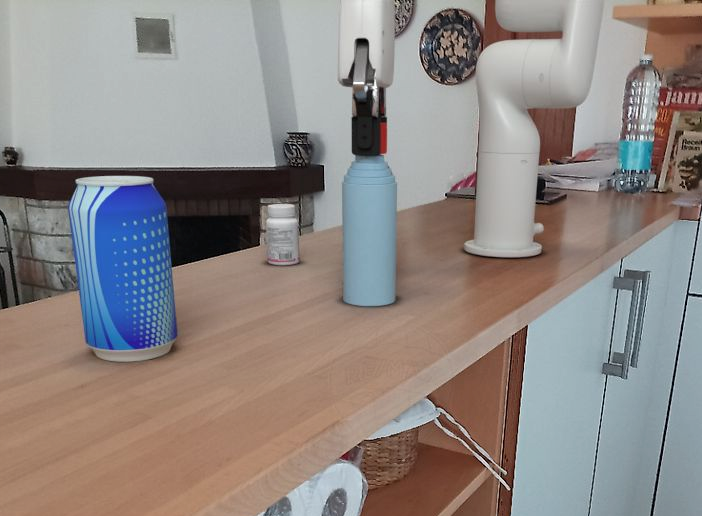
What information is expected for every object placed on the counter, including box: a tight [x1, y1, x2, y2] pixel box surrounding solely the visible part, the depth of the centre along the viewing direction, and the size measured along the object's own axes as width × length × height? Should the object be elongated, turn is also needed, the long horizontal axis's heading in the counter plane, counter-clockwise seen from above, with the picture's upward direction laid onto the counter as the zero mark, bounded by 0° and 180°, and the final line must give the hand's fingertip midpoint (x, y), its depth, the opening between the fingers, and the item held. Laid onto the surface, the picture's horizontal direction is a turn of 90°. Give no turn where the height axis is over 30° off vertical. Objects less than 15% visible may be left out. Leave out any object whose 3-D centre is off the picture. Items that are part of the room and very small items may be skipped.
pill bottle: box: [265, 203, 301, 266], centre depth 115 cm, size 5×5×8 cm
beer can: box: [67, 175, 179, 363], centre depth 72 cm, size 8×8×16 cm
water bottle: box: [341, 154, 398, 307], centre depth 92 cm, size 6×6×20 cm
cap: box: [380, 122, 388, 155], centre depth 89 cm, size 4×4×3 cm
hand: (369, 152), depth 89 cm, fingers closed on cap, 3 cm apart
